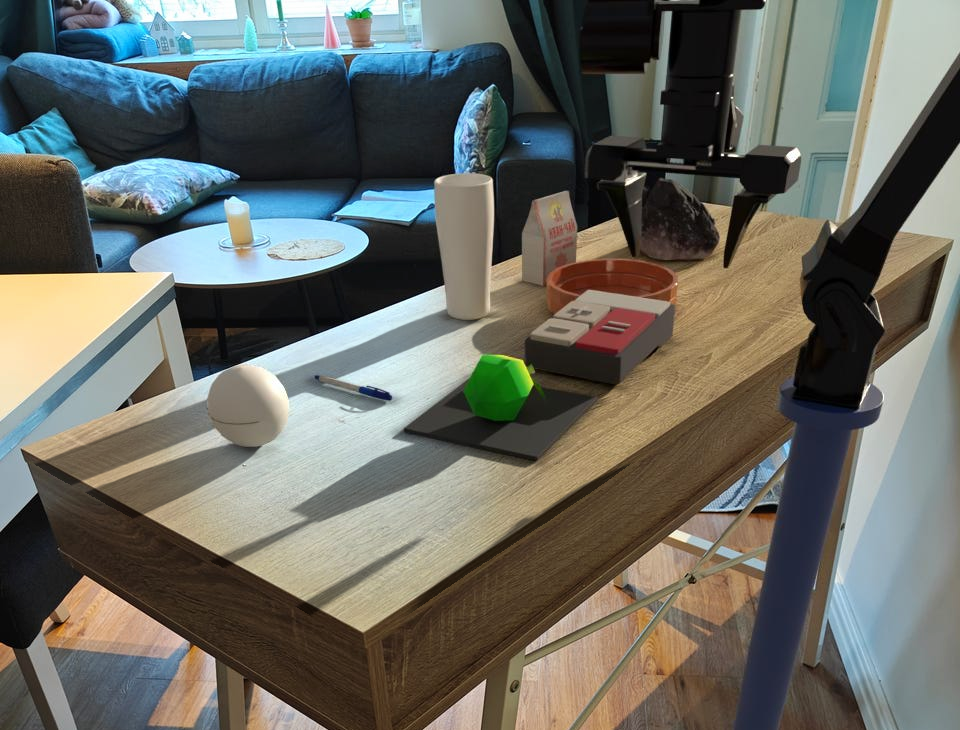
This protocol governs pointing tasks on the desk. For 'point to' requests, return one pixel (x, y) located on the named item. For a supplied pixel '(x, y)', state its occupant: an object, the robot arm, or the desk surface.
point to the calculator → (600, 336)
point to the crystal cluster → (675, 223)
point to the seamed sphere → (248, 405)
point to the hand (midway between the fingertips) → (680, 261)
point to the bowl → (610, 281)
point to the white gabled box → (548, 237)
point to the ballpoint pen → (356, 388)
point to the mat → (504, 422)
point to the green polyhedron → (499, 387)
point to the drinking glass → (465, 241)
